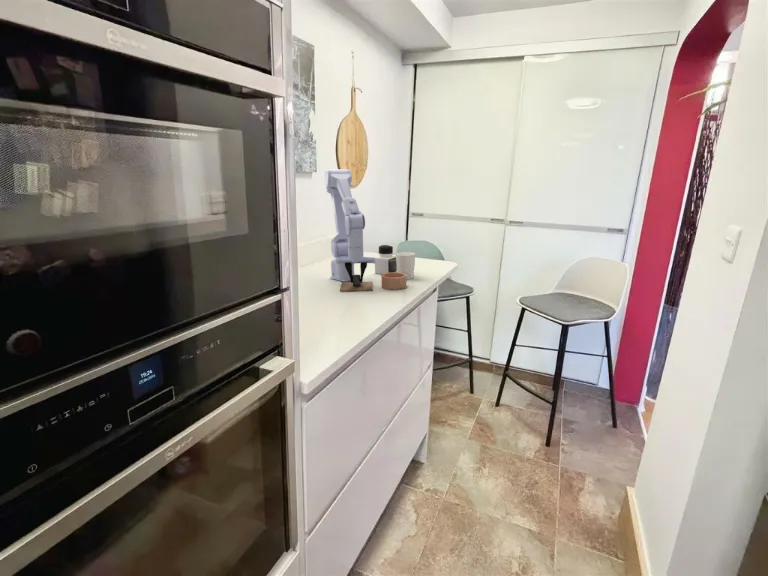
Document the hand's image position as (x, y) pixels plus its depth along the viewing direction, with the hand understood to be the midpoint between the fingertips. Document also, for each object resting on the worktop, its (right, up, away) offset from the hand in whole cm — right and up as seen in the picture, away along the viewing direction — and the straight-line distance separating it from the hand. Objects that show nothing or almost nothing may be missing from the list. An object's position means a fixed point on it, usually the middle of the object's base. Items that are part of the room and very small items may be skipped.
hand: (356, 282), depth 162 cm
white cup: (+19, +2, +15) cm, 24 cm away
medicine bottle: (+11, +4, +23) cm, 26 cm away
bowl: (+14, -2, +1) cm, 14 cm away
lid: (0, -2, +1) cm, 2 cm away
